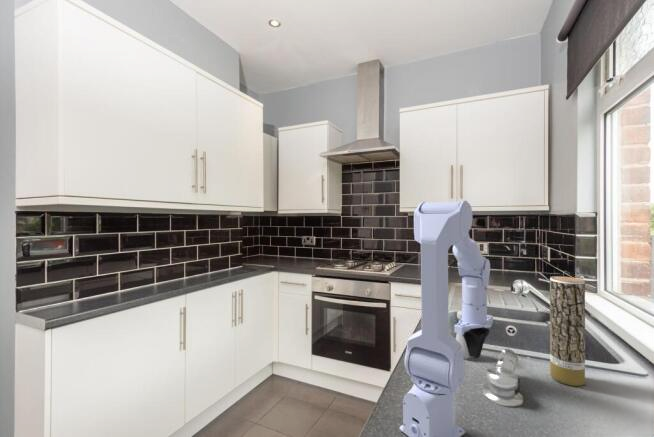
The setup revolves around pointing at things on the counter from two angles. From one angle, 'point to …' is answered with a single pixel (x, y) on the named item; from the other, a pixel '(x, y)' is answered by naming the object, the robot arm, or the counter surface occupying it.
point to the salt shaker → (462, 340)
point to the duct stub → (503, 395)
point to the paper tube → (567, 330)
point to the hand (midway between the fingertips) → (474, 356)
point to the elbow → (504, 372)
